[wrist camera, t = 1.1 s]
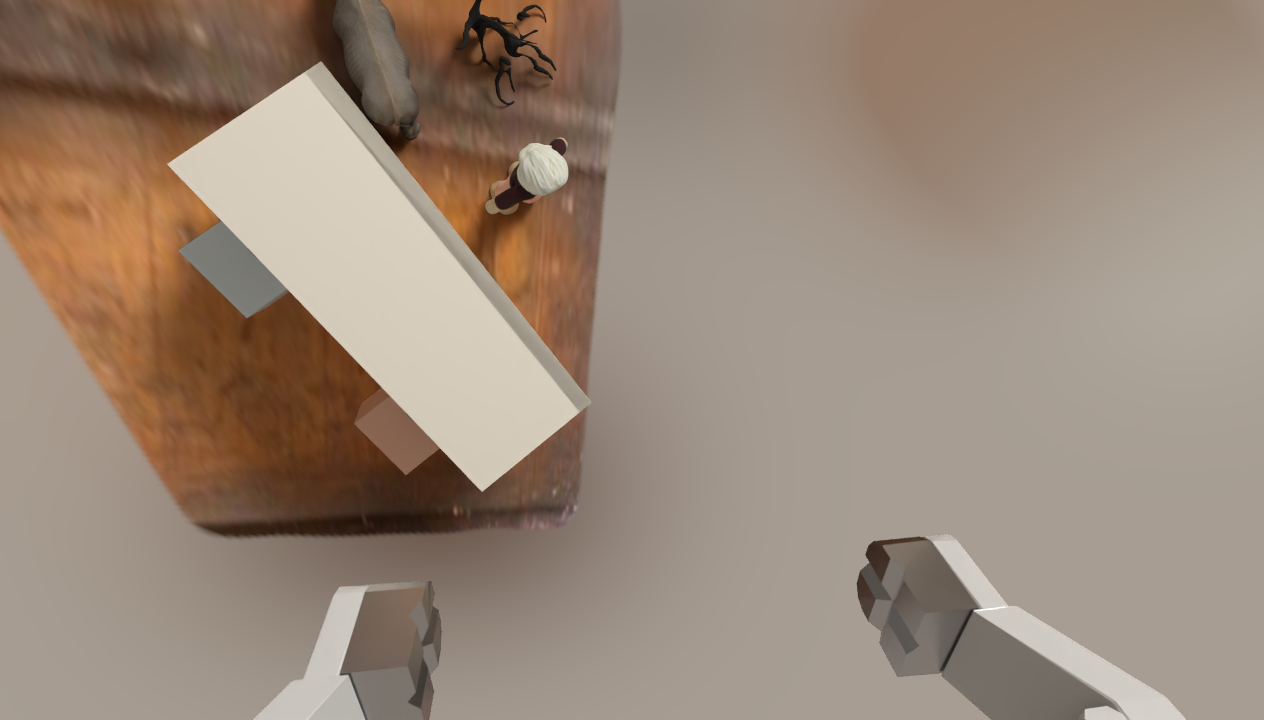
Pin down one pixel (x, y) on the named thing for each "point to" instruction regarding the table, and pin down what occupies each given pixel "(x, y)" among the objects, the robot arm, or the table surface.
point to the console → (383, 272)
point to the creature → (510, 40)
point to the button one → (233, 270)
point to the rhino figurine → (377, 63)
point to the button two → (394, 431)
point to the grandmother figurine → (530, 177)
